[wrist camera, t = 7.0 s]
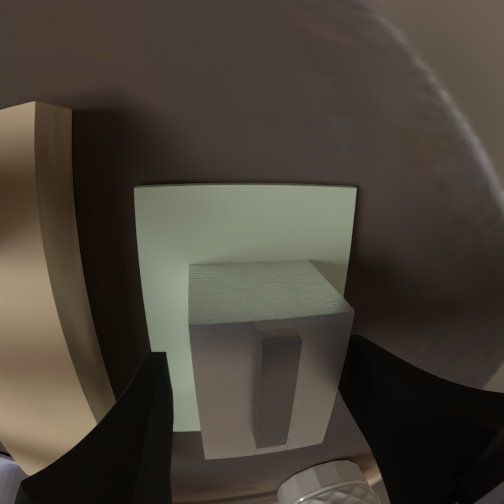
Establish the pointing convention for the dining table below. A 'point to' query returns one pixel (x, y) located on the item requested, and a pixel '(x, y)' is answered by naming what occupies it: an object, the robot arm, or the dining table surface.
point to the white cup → (328, 486)
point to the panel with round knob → (44, 295)
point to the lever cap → (265, 354)
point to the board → (228, 251)
